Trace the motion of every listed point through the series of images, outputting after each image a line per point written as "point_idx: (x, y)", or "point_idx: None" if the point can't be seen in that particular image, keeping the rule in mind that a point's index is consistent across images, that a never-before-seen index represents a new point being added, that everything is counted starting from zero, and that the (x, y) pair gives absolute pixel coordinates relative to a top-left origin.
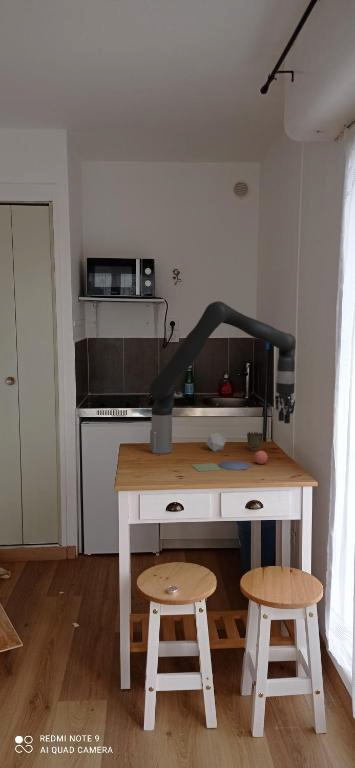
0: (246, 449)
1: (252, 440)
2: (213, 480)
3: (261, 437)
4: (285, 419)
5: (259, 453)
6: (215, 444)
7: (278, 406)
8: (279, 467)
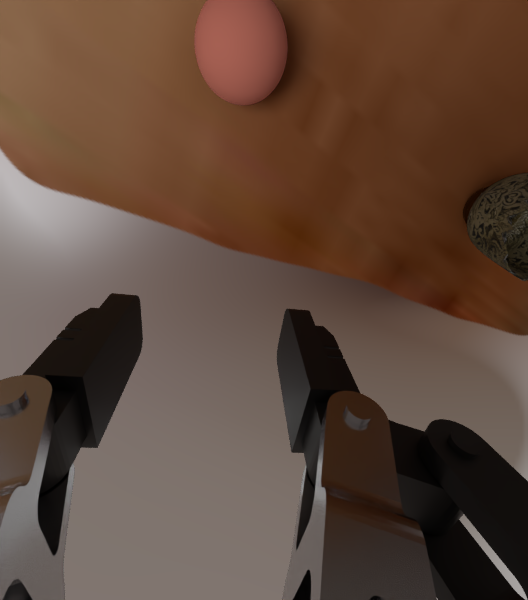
0: None
1: (519, 183)
2: None
3: (494, 246)
4: (91, 325)
5: (220, 2)
6: None
7: (356, 510)
8: (139, 129)
